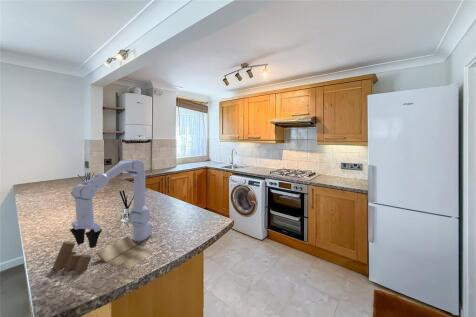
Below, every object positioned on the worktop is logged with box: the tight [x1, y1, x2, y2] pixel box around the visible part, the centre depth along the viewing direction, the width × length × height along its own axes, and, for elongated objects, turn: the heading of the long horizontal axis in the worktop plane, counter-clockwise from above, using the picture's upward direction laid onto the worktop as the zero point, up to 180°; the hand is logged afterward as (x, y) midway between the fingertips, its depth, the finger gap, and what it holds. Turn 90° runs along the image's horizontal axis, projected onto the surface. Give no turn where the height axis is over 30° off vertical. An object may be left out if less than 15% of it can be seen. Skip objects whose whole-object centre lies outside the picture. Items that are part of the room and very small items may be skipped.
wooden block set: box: [52, 240, 92, 273], centre depth 90 cm, size 18×9×10 cm, turn 60°
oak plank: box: [95, 236, 138, 264], centre depth 99 cm, size 16×7×1 cm
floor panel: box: [107, 245, 158, 270], centre depth 96 cm, size 16×12×1 cm
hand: (86, 245), depth 88 cm, fingers open, 7 cm apart
